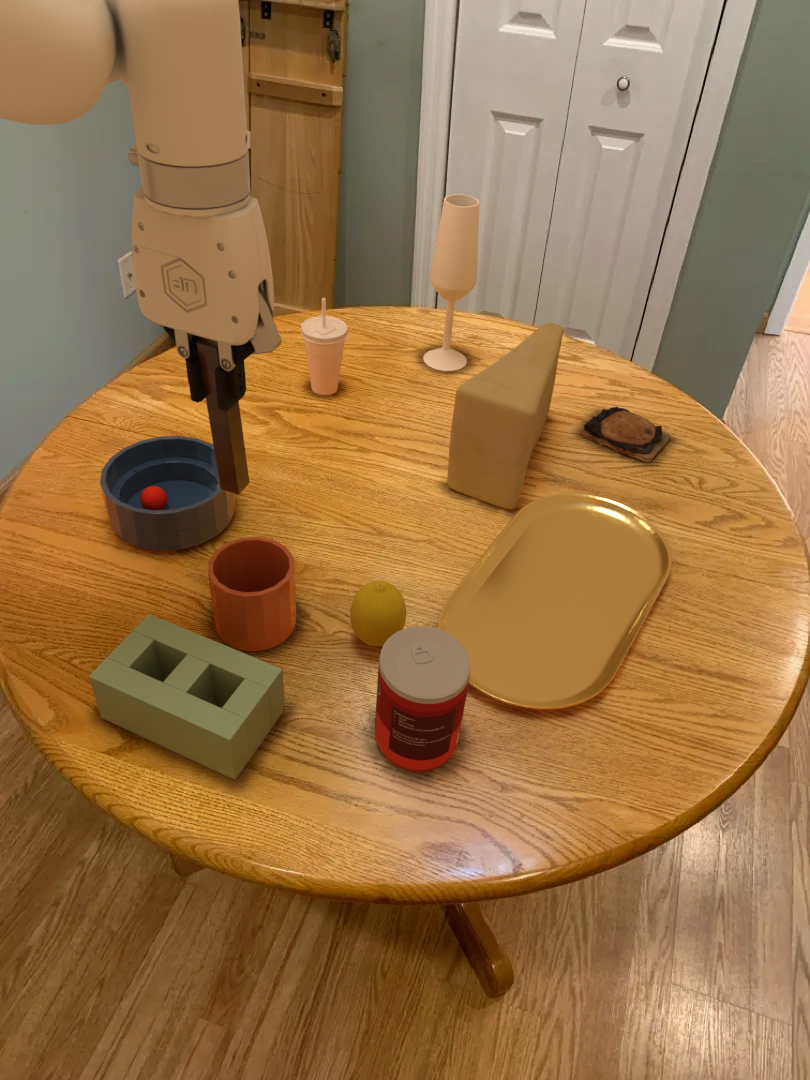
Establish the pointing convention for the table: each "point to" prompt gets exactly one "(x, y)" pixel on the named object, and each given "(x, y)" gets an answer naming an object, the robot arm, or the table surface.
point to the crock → (253, 593)
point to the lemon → (377, 612)
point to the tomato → (153, 498)
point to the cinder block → (189, 694)
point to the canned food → (420, 697)
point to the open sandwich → (626, 433)
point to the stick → (223, 425)
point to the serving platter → (557, 600)
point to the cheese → (503, 419)
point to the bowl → (187, 483)
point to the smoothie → (324, 350)
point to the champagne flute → (454, 269)
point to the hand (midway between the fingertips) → (218, 397)
